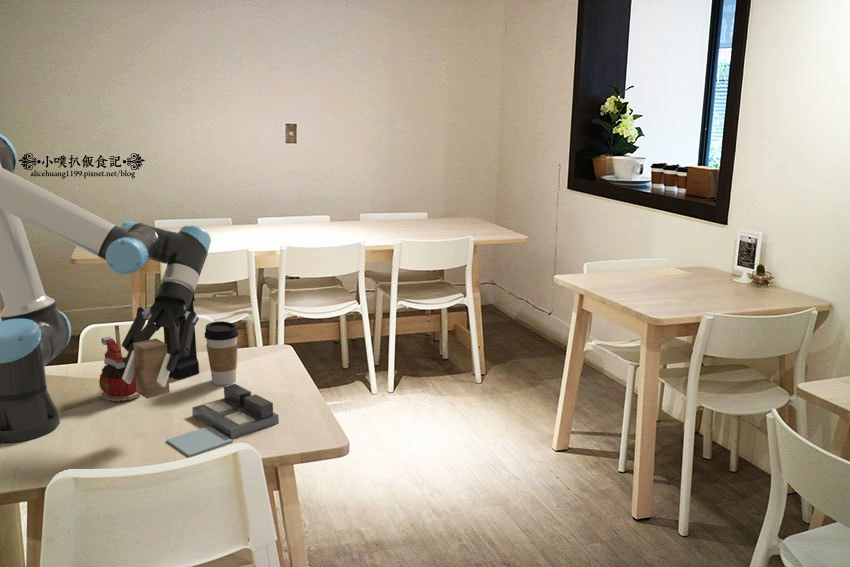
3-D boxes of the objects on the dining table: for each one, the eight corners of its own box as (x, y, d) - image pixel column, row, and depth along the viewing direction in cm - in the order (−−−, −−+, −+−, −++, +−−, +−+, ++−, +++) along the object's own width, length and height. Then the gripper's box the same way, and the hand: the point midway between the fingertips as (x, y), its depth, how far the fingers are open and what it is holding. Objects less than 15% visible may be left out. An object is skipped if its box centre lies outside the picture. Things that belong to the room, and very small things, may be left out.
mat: (166, 441, 163) (166, 439, 163) (209, 427, 170) (209, 425, 170) (189, 456, 156) (189, 455, 156) (232, 442, 163) (232, 440, 163)
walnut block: (136, 391, 164) (133, 343, 162) (158, 386, 168) (156, 338, 165) (147, 398, 161) (143, 349, 158) (169, 392, 164) (166, 344, 162)
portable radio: (189, 367, 207) (182, 277, 201) (203, 372, 204) (197, 280, 198) (164, 375, 201) (156, 283, 195) (178, 380, 197) (171, 286, 191)
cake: (153, 395, 188) (147, 324, 184) (118, 407, 180) (111, 334, 176) (127, 385, 194) (121, 317, 190) (93, 396, 187) (86, 326, 182)
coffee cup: (227, 372, 203) (224, 318, 199) (247, 380, 198) (245, 324, 194) (200, 381, 197) (196, 325, 193) (220, 389, 191) (217, 332, 188)
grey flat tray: (192, 415, 176) (191, 395, 175) (238, 401, 184) (237, 382, 183) (231, 439, 164) (230, 417, 163) (278, 423, 172) (277, 402, 171)
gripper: (224, 300, 173) (194, 394, 162) (142, 294, 176) (107, 385, 165) (213, 283, 167) (181, 379, 155) (128, 277, 170) (91, 371, 158)
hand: (143, 382), depth 160 cm, fingers closed on walnut block, 7 cm apart
